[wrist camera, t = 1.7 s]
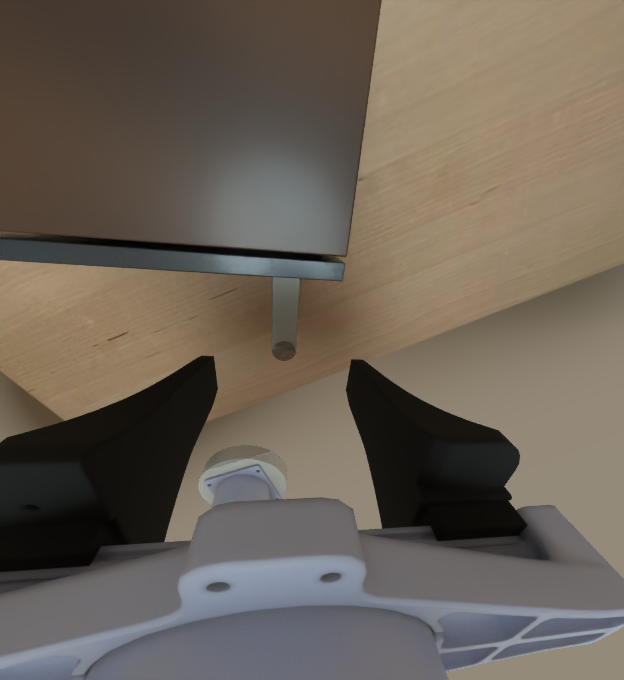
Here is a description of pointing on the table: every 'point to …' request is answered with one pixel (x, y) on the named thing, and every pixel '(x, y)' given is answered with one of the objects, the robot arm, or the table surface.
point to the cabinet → (185, 120)
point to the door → (188, 268)
